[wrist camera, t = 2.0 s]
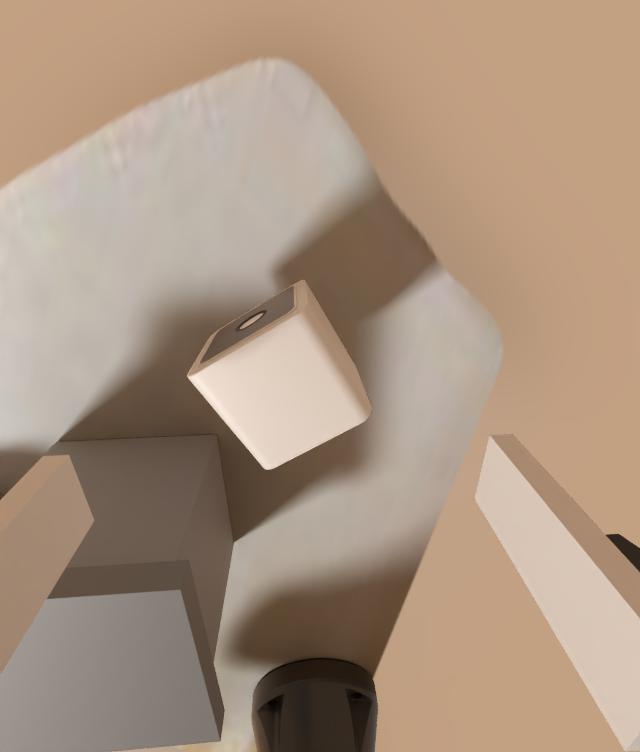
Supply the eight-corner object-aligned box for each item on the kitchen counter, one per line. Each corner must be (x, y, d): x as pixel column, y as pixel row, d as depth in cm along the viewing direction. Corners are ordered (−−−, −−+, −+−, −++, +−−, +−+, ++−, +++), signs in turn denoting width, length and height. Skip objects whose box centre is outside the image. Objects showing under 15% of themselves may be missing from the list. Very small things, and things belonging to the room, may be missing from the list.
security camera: (302, 265, 24) (308, 305, 15) (352, 352, 27) (383, 429, 18) (221, 315, 25) (181, 380, 16) (277, 392, 28) (271, 486, 19)
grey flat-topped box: (245, 549, 34) (220, 741, 22) (90, 560, 34) (-24, 764, 21) (228, 422, 28) (180, 589, 16) (38, 431, 28) (-162, 613, 15)
